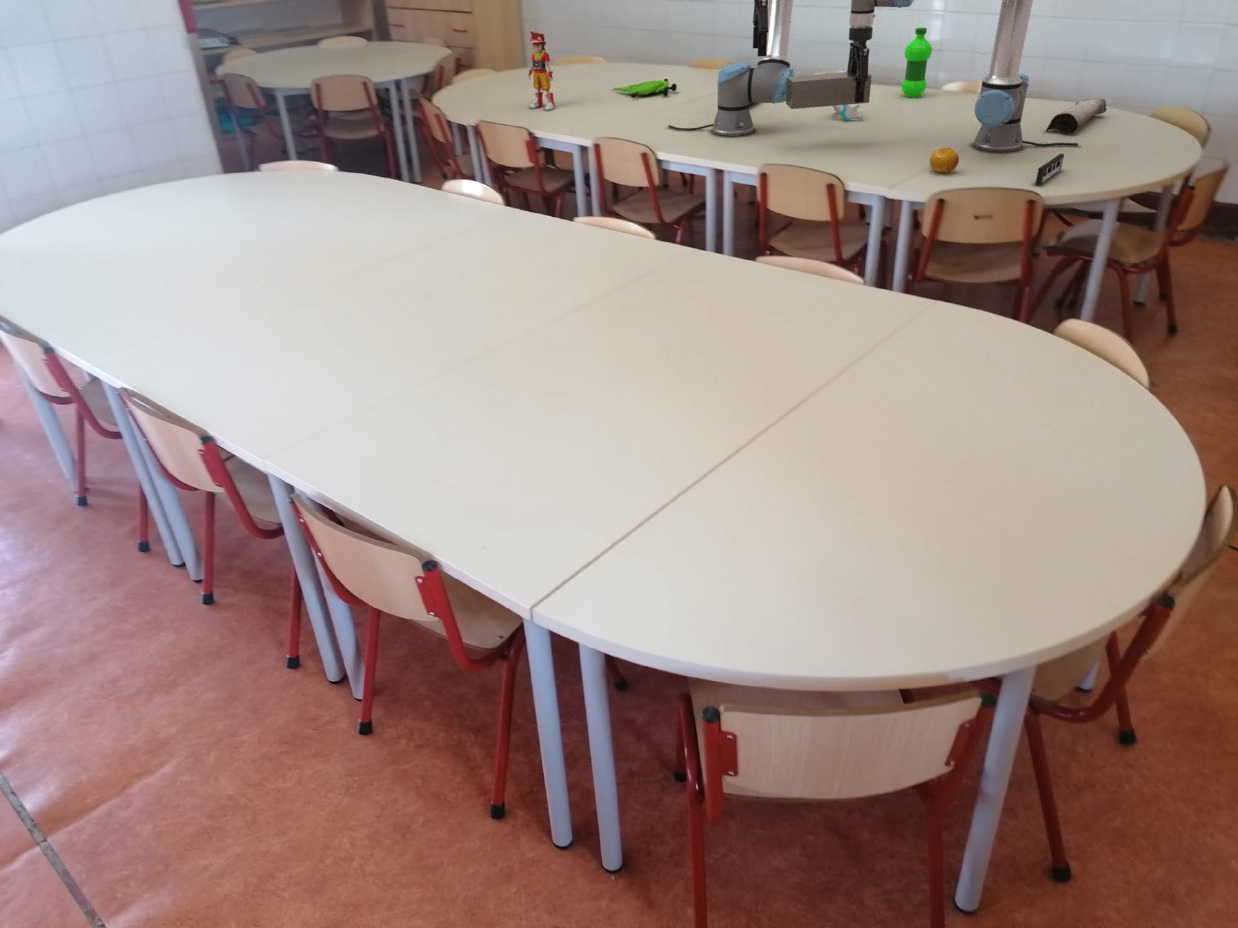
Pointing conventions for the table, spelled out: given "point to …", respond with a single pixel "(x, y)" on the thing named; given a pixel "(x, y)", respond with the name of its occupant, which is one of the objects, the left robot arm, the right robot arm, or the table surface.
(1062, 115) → the rolled mat
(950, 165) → the fruit
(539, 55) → the toy
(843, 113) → the anatomical model
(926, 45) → the plastic bottle
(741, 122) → the left robot arm
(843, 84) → the box
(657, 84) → the toy
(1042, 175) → the midi keyboard
